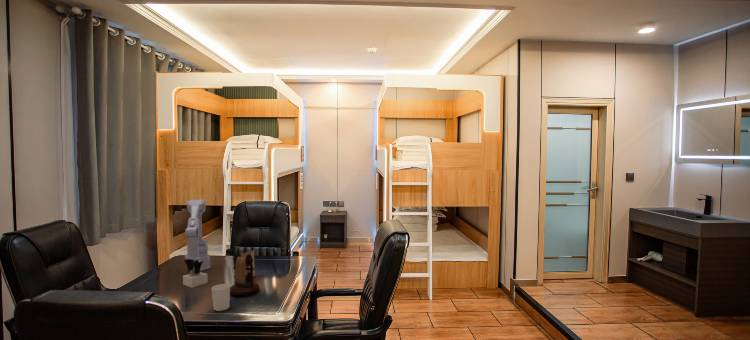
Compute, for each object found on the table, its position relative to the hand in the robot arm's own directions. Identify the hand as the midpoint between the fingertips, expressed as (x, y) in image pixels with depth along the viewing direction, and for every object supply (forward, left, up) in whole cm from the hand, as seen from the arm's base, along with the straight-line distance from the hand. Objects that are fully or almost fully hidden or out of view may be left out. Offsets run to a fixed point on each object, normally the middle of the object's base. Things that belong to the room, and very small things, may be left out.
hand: (193, 272), depth 206 cm
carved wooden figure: (-21, +21, -6) cm, 30 cm away
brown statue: (-7, +35, -6) cm, 36 cm away
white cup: (+11, +43, -6) cm, 45 cm away
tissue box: (0, +2, -6) cm, 6 cm away
